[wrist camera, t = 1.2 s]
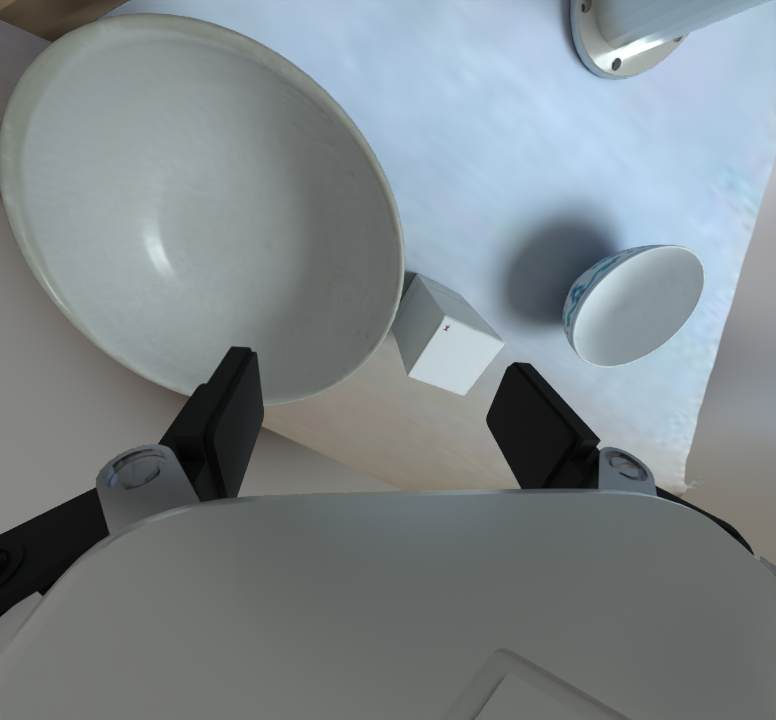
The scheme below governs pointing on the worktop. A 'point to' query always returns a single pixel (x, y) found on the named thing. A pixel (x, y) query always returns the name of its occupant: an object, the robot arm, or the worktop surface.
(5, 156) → the decorative bowl
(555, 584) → the robot arm
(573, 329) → the chinaware
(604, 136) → the worktop surface
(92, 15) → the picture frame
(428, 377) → the supplement box
